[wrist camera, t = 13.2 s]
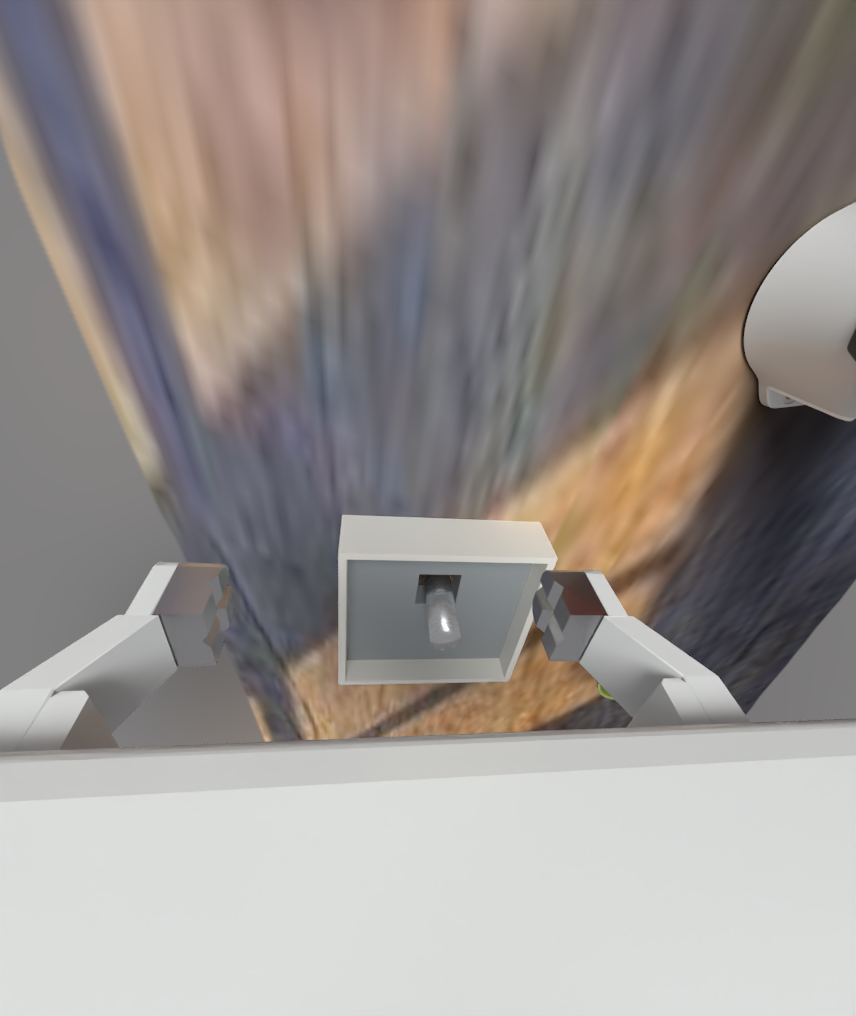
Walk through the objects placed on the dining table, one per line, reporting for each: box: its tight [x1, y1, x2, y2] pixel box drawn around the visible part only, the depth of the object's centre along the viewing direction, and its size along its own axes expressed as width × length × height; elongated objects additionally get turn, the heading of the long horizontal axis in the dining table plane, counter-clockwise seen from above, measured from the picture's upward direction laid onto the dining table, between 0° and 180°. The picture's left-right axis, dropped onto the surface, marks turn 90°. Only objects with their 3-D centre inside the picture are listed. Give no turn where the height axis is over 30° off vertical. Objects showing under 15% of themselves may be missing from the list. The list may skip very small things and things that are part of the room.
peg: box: [422, 574, 462, 650], centre depth 48 cm, size 3×3×10 cm
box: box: [338, 515, 558, 685], centre depth 51 cm, size 22×22×6 cm
